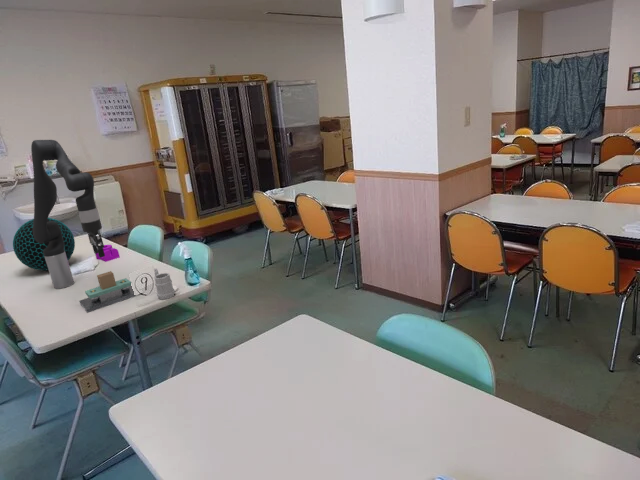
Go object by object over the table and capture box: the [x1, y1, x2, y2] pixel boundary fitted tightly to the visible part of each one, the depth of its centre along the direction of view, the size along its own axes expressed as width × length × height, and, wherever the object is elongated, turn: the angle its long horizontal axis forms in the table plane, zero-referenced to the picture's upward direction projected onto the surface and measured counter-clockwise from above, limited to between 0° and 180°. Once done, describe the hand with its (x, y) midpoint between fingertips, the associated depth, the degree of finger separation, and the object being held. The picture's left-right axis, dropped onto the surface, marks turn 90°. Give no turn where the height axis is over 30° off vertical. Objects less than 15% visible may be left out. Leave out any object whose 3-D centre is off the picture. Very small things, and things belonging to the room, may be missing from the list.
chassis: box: [78, 280, 136, 313], centre depth 204 cm, size 14×24×6 cm, turn 129°
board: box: [85, 270, 132, 299], centre depth 202 cm, size 18×8×8 cm, turn 129°
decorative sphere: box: [12, 217, 76, 271], centre depth 256 cm, size 30×30×30 cm
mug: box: [153, 267, 176, 300], centre depth 200 cm, size 8×12×12 cm, turn 43°
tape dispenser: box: [94, 244, 120, 263], centre depth 268 cm, size 16×10×6 cm, turn 46°
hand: (99, 254), depth 198 cm, fingers open, 8 cm apart
